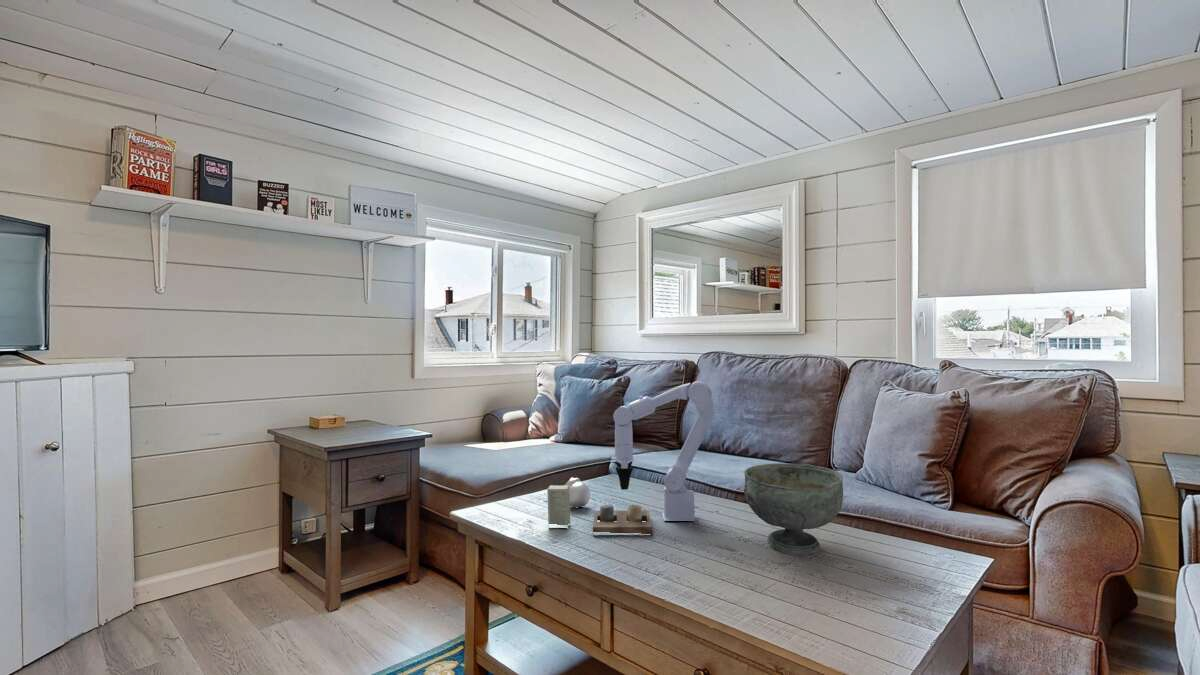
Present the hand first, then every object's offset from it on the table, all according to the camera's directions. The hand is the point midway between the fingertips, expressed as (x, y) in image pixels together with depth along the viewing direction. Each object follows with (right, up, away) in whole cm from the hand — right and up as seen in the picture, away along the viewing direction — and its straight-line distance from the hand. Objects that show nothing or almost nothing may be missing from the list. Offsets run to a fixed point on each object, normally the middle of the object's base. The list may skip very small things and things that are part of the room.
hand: (624, 486), depth 183 cm
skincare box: (-20, -10, -11) cm, 25 cm away
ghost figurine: (-16, -10, +9) cm, 21 cm away
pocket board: (-1, -9, -11) cm, 15 cm away
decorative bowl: (+44, -9, -29) cm, 54 cm away
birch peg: (+3, -9, -11) cm, 15 cm away
